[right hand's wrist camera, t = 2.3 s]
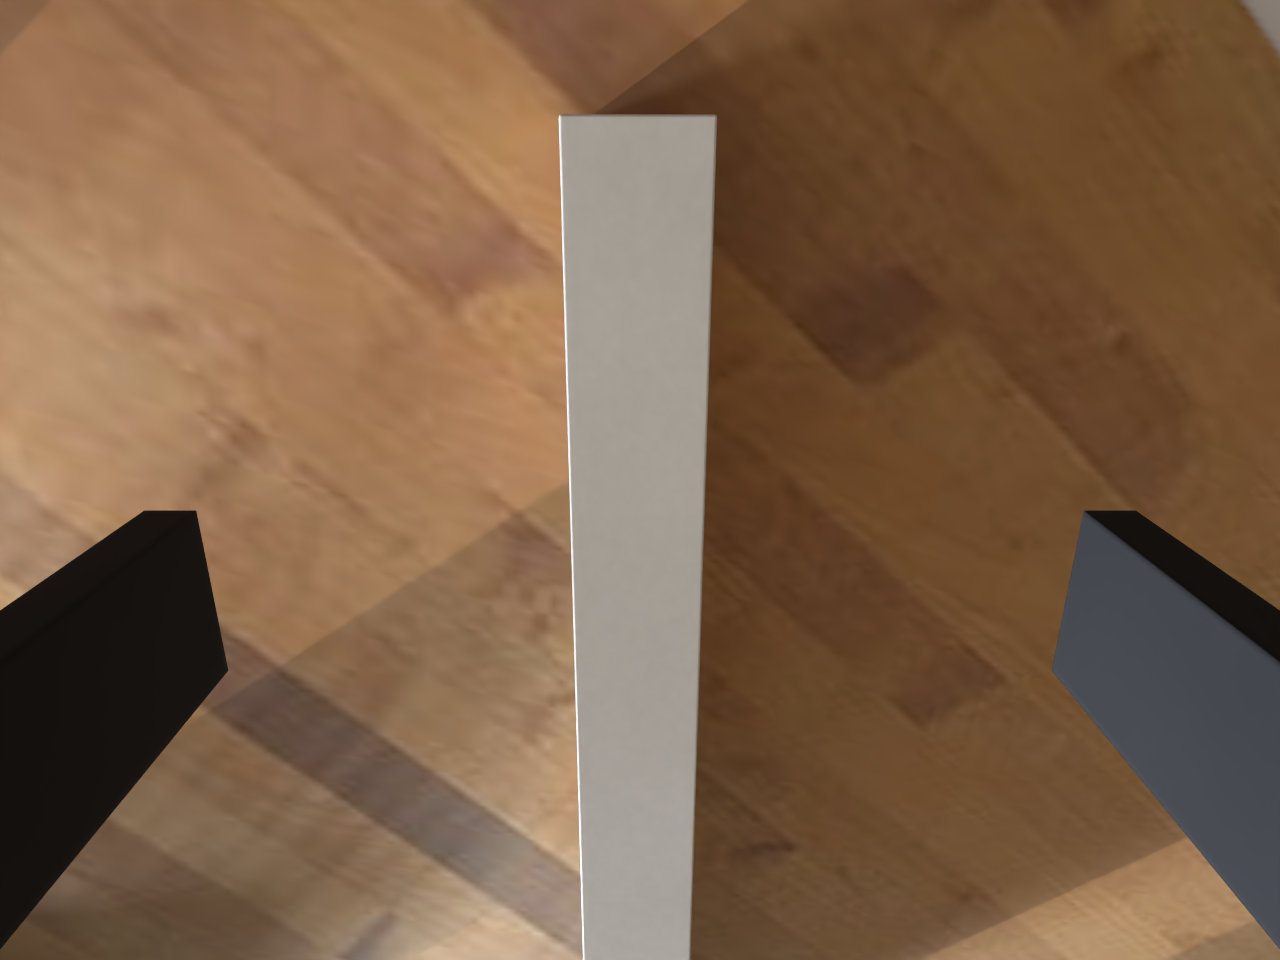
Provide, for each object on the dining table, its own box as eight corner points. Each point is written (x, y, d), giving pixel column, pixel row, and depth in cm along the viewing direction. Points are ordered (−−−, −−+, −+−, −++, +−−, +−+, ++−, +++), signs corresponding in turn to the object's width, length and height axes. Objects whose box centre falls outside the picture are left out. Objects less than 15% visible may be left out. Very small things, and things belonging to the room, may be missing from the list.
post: (576, 125, 34) (558, 113, 26) (699, 125, 34) (717, 114, 26) (597, 1072, 53) (590, 1221, 46) (675, 1072, 53) (682, 1221, 46)
